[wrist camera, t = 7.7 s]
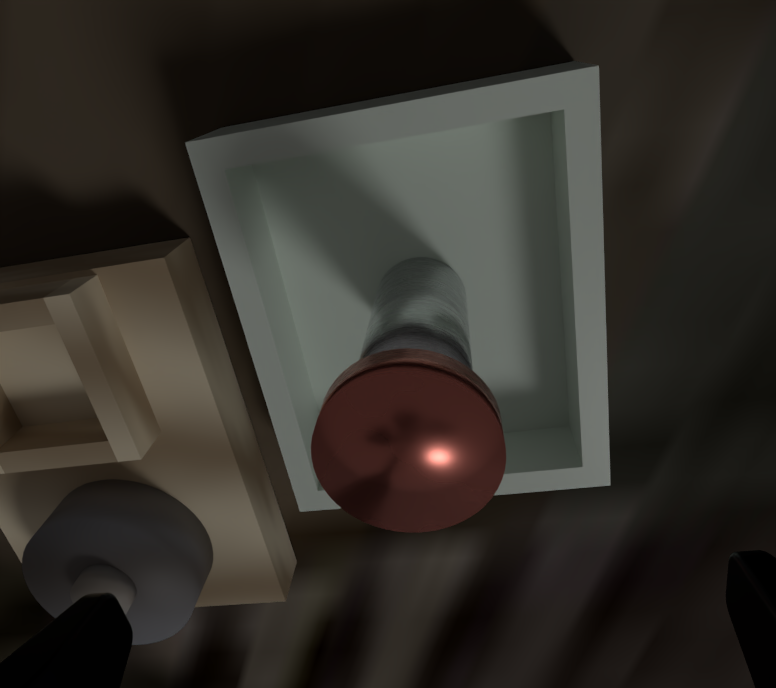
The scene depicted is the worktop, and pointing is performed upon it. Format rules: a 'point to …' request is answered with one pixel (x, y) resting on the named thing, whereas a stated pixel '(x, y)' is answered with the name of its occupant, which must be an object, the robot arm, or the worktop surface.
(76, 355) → the block
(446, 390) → the lock pin
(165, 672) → the worktop surface
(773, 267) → the worktop surface
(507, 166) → the tray
